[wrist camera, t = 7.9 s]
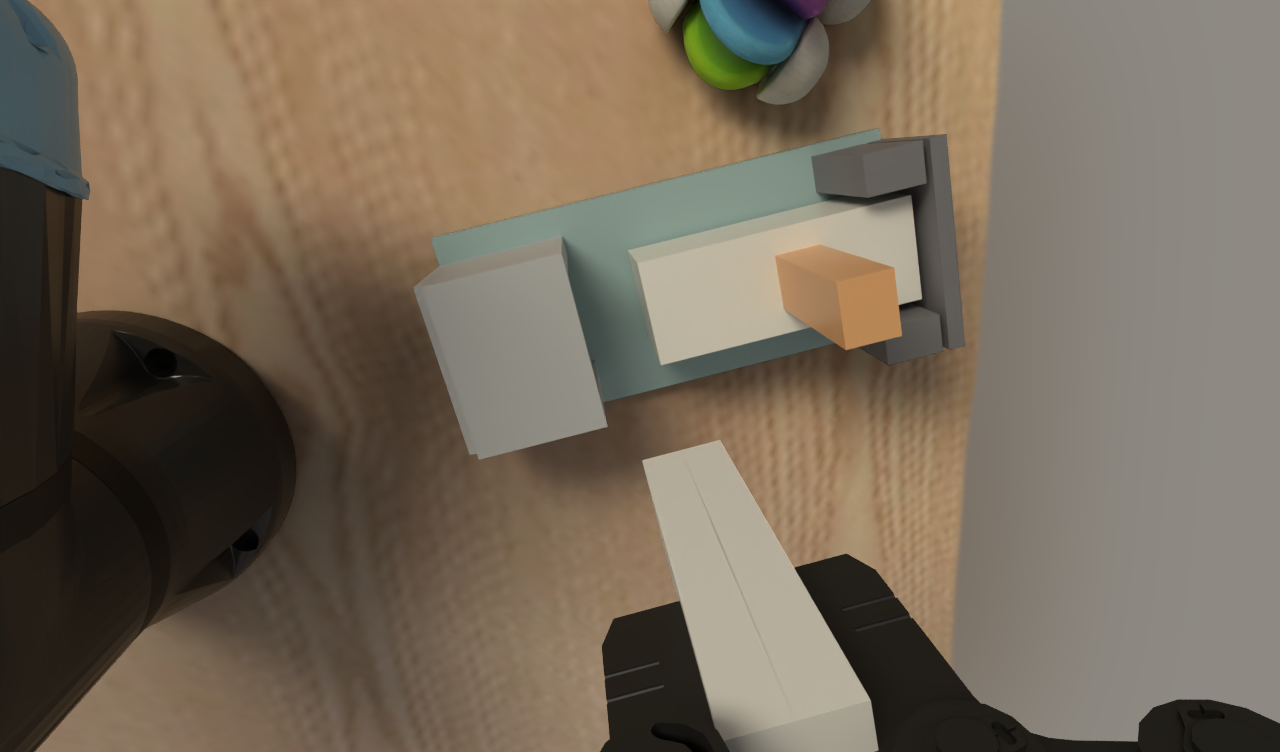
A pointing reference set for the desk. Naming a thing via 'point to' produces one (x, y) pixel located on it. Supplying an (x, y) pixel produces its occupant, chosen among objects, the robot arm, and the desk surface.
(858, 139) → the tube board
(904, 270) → the block with wooden peg
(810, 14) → the rainbow disc toy
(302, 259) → the desk surface
